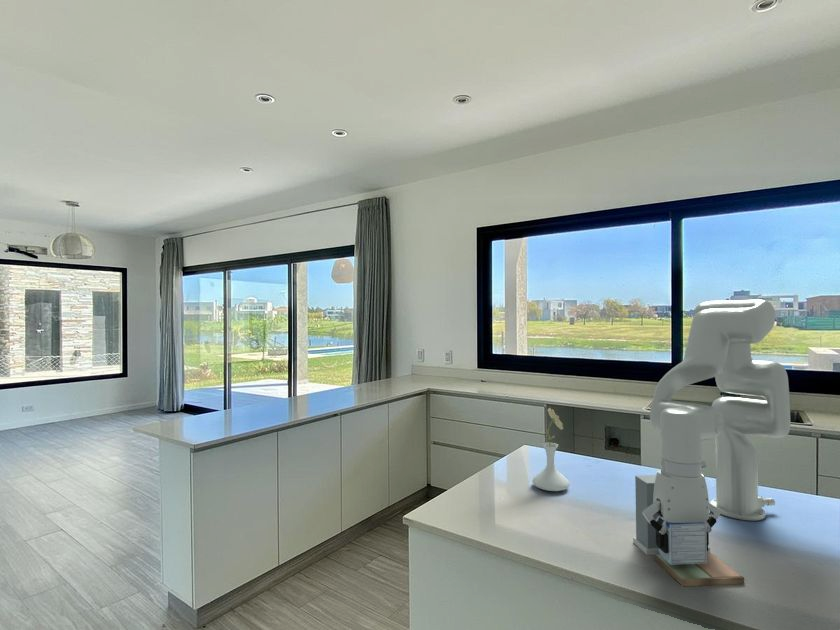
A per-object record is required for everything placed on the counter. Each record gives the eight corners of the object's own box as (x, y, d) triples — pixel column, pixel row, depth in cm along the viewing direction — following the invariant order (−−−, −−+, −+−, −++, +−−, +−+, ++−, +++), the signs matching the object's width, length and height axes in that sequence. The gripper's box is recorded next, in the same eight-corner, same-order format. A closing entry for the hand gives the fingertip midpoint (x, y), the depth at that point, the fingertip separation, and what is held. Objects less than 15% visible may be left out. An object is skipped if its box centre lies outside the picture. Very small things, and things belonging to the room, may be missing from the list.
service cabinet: (693, 539, 110) (692, 473, 110) (710, 552, 104) (709, 482, 104) (633, 542, 109) (632, 475, 109) (646, 555, 103) (645, 484, 103)
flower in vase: (569, 496, 137) (568, 414, 137) (531, 492, 140) (530, 412, 141) (569, 481, 149) (568, 406, 150) (534, 478, 153) (533, 404, 153)
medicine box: (694, 553, 99) (693, 513, 99) (707, 564, 94) (707, 523, 94) (658, 554, 98) (658, 514, 98) (670, 565, 94) (669, 524, 94)
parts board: (710, 557, 102) (709, 551, 102) (744, 583, 92) (744, 577, 92) (654, 559, 101) (654, 553, 101) (682, 586, 91) (682, 579, 91)
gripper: (708, 460, 101) (709, 538, 100) (632, 462, 100) (633, 542, 100) (733, 471, 93) (734, 556, 93) (651, 474, 92) (652, 560, 92)
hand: (682, 548), depth 96 cm, fingers closed on medicine box, 8 cm apart
